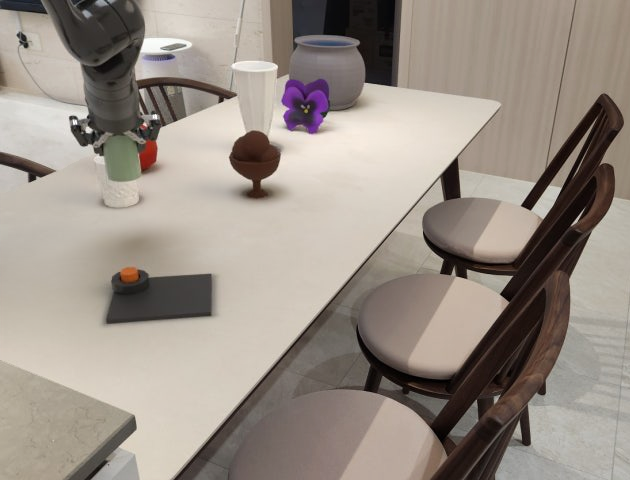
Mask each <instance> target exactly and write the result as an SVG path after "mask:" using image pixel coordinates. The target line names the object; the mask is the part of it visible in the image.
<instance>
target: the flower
mask: <svg viewBox="0 0 630 480" xmlns="http://www.w3.org/2000/svg"><path fill="white" fill-rule="evenodd" d="M328 99H329V86H328V83H327V82H326V81H325V80H324V79H318V80H316V81H314V82H311V83H308V84H307V85H306V86H305V85H304V84H303V83H302V82H300V81H298V80H294V79H290V80H289V79H288V80H287V81H286V82H285V85H284V93H283V94H282V96H281V101H280V102H281V104H282V105H283V106H284V107H285V108H287V109H286V110H285V111H284V113H283V115H282V118H283V121H284V124H285V125H286V128H287V130H288V131H290V132H291V131H293V130H294V129H296V128H297V127H298V126H301V125H302V126H303V127H305V129H306V130H307V131H308V133H309V134H310V135H311V134H312V135H314V134H317V132H318V130H319V127H320V126H321V125H322V124H323V123H324V119H325V118H326V117H327V116H328V113H329V112H330V110H329V108H330V101H329V100H328Z"/></svg>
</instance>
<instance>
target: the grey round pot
mask: <svg viewBox="0 0 630 480" xmlns="http://www.w3.org/2000/svg"><path fill="white" fill-rule="evenodd" d="M294 43H296V44H297V46H296V48H295V49H294V50H293V53H292V54H291V56H290V60H289V65H288V80H290V79H294V80H298V81H300V82H302V83H303V84H304V85H305V86H306V85H307V84H308V83H311V82H314V81H316V80H318V79H324V80H325V81H326V82H327V83H328V86H329V99H328V100H329V101H330V108H329V111H341V110H346V109H349V108H351V107H353V106H354V105H355V104H356V102H355V101H356V100H357V99H359V97H360V96H361V94H362V92H363V89H364V86H365V82H366V66H365V62H364V59H363V58H364V57H362V54H361V53H360V51H359V50H358V48H357V47H358V46H359V45H360V44H361V42H360V40H358V39H355V38H354V37H353V38H352V37H348V36H342V35H330V34H329V35H327V34H313V35H302V36H297V37H295V38H294Z"/></svg>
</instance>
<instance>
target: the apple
mask: <svg viewBox="0 0 630 480" xmlns="http://www.w3.org/2000/svg"><path fill="white" fill-rule="evenodd" d="M141 127H142V128H143V129H147V125H144V124H143V125H142V126H141ZM157 157H158V144H157V140H156V141H150V140H147V141H146V149H145V150H142V153H139V159H140V166H141V172H142V171H146V170H148V169H149V168H150V167H152V166H153V165H154V164H155V163H156V162H157Z"/></svg>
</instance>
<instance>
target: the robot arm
mask: <svg viewBox="0 0 630 480" xmlns="http://www.w3.org/2000/svg"><path fill="white" fill-rule="evenodd" d="M40 2H41V3H42V5H43V7H44V9H45V11H46V13H47V15H48V17H49V19H50V22H51V23H52V25H53V27H54V30H55V32H56V34H57V36H58V38H59V41H61V44H62V46H63V47H64V49H65V50H66V51H67V53H68V54H69V55H70V56H71V57H72V58H73V59H75V60H76V61H77V62H79V65H80V72H81V76H82V79H83V80H82V81H83V86H82V87H83V94H84V101H85V104H86V108H87V112H88V114H87V115H86V118H85V117H83V118H78V116H77V115H69V116H68V121H69V127H70V133H71V134H72V135H73V137H74V138H75V140H76V142H77V143H78V145H79V146H80V147H83V148H86V147H88V146H89V145H91V146H92V149H93V152H94V154H95V155H99V156H103V149H102V143H105V142H106V141H107V140H108V138H109V137H113V136H126V135H127V136H128V137H129V138H131V139H132V140H133V141H135V140H136V141H137V147H138V152H139V153H142V150H145V149H146V141H147V140H150V141H156V142H157V140H158V137H159V134H160V130H161V128H162V120H161V115H160V112H159V110H157V109H154V110H151V111H150V114H144V113H143V112H142V111H141V108H140V107H141V105H140V99H141V96H140V93H139V86H138V82H137V78H136V77H137V76H136V68H135V67H136V64H137V62H138V60H139V57H140V54H141V51H142V48H143V44H144V41H145V36H146V22H145V16H144V14H143V11H142V8H141V7H140V5H139V3H138V1H137V0H79V2H77V3H75V4H73V1H72V0H40ZM144 124H146V127H147V129H143V128H142V127H141V126H142V125H144ZM87 127H88V128H89V129H90V132H87V131H86V129H87Z"/></svg>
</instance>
